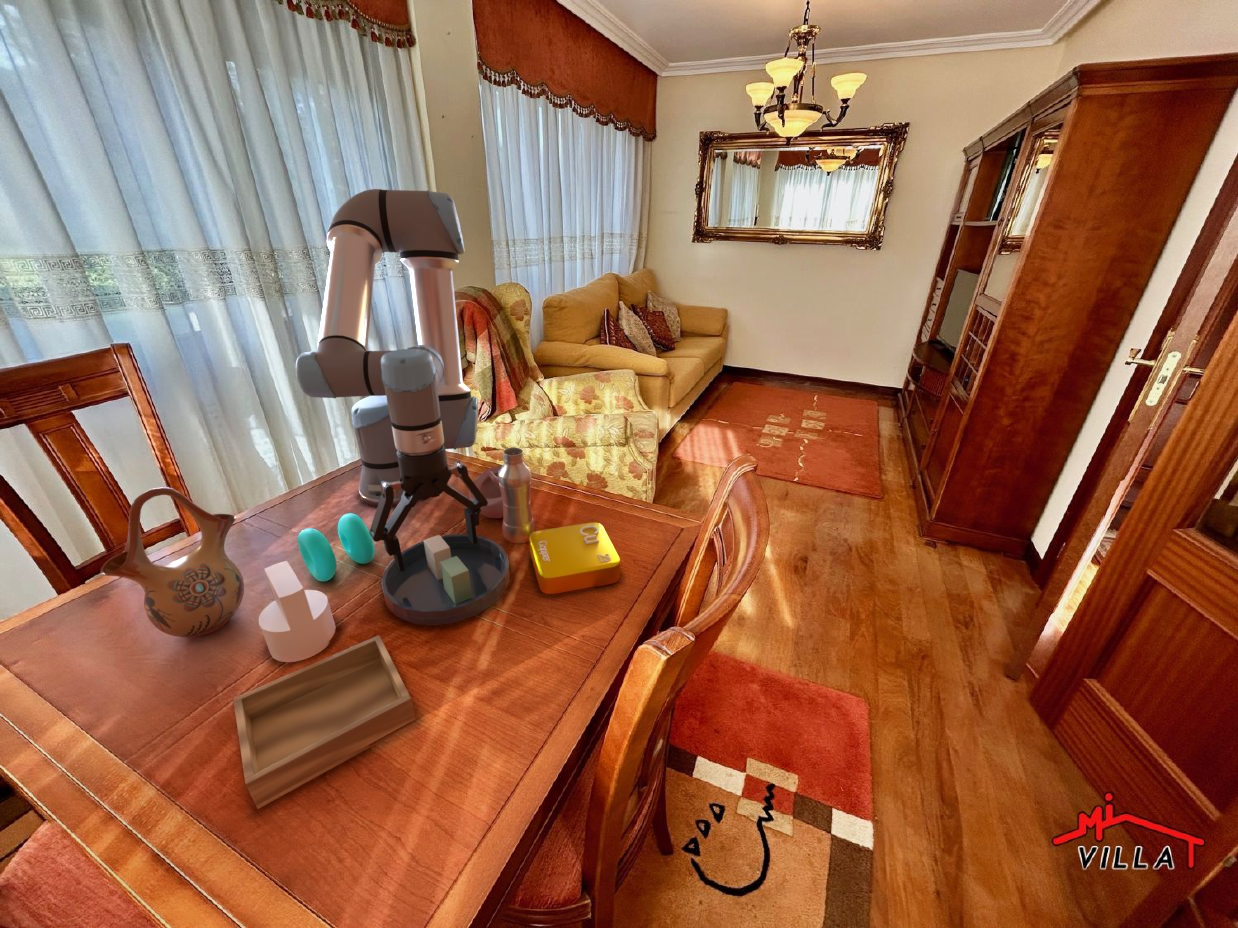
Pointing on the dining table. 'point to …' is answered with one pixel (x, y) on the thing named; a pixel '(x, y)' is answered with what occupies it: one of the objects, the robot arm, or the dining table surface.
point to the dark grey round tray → (425, 596)
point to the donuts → (321, 553)
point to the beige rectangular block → (436, 554)
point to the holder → (319, 718)
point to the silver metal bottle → (516, 497)
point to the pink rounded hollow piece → (490, 493)
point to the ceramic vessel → (183, 574)
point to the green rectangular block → (456, 579)
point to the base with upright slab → (295, 617)
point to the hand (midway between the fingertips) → (437, 553)
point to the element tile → (573, 558)
